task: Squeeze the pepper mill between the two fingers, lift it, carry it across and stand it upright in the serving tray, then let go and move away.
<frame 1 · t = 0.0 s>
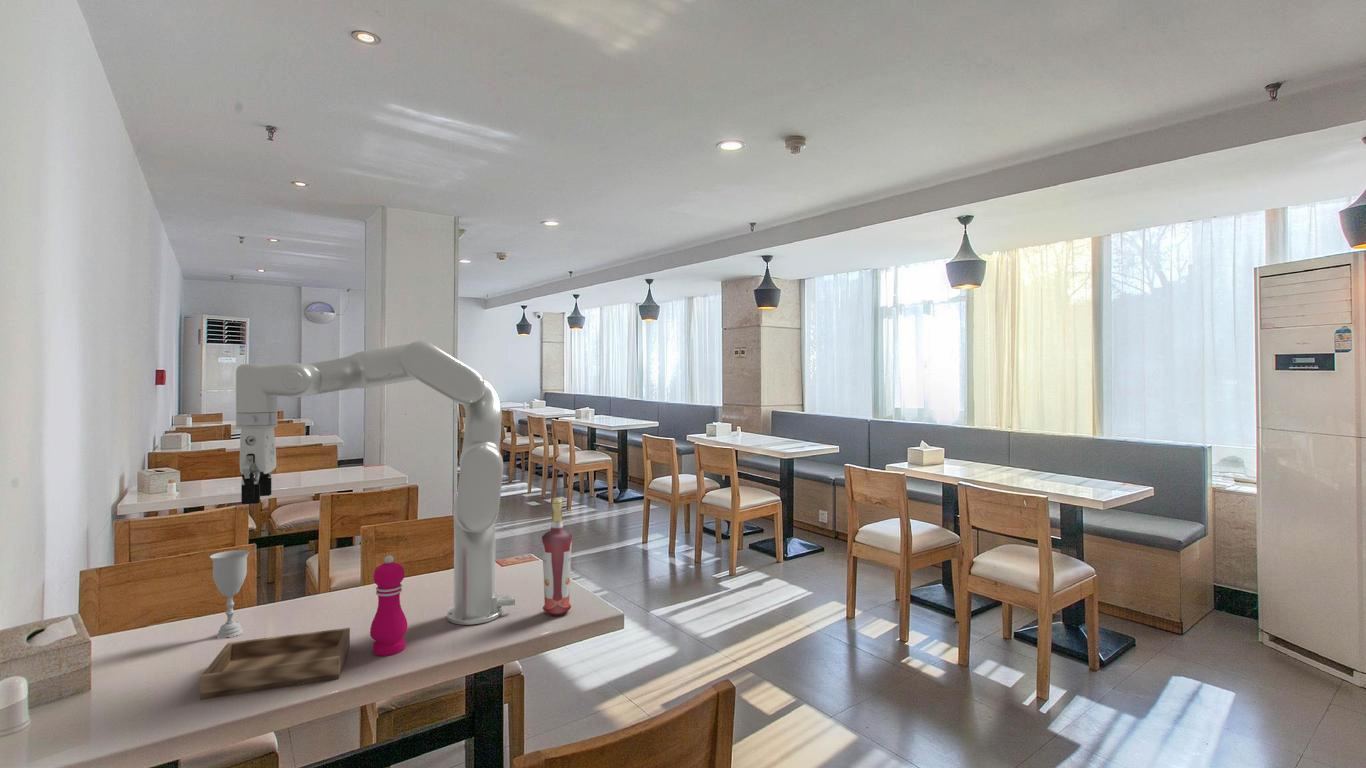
hand: (257, 499, 138), 31 cm above the table, tool pointing down, fingers open, 9 cm apart
chalice: (230, 634, 143), on the table
serving tray: (281, 670, 125), on the table
liquor: (556, 613, 156), on the table
pepper mill: (389, 650, 134), on the table
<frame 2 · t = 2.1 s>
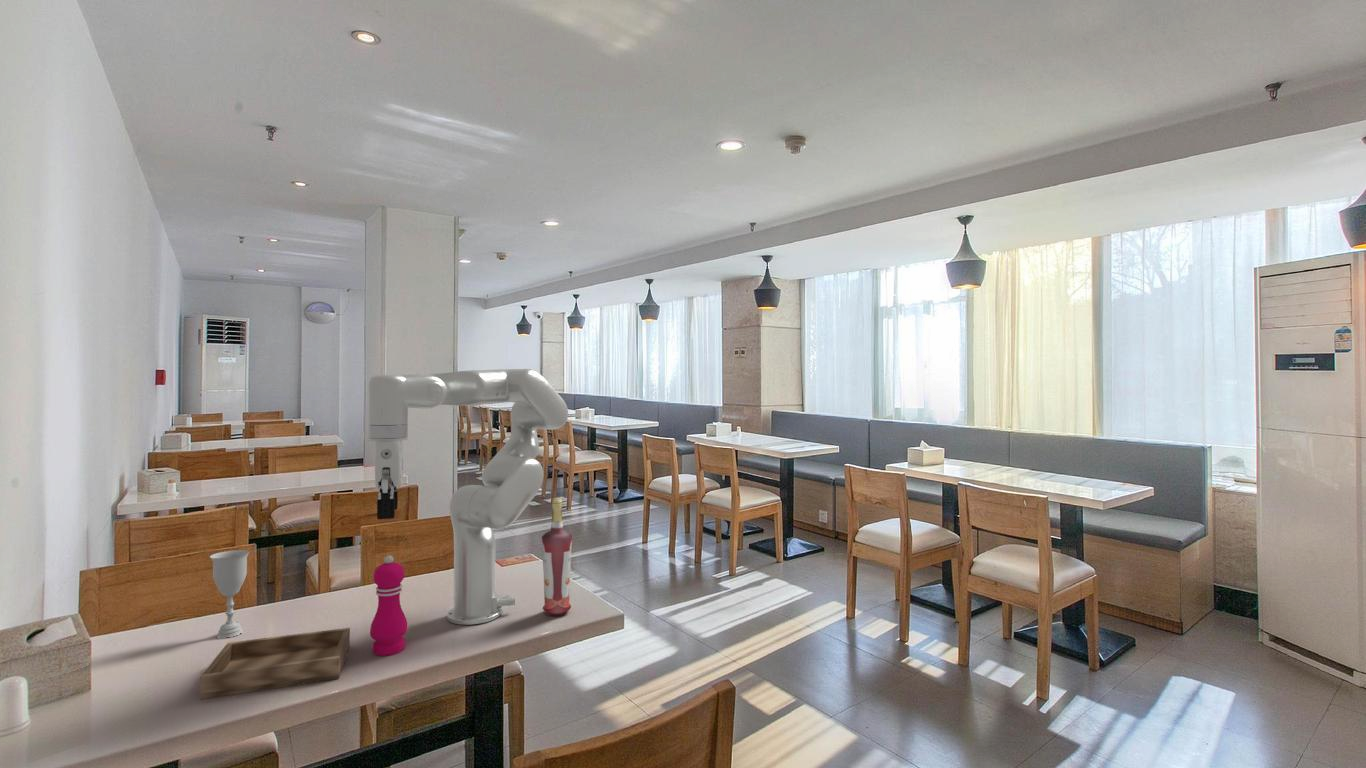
hand: (387, 514, 134), 29 cm above the table, tool pointing down, fingers open, 9 cm apart
nothing on the table moved.
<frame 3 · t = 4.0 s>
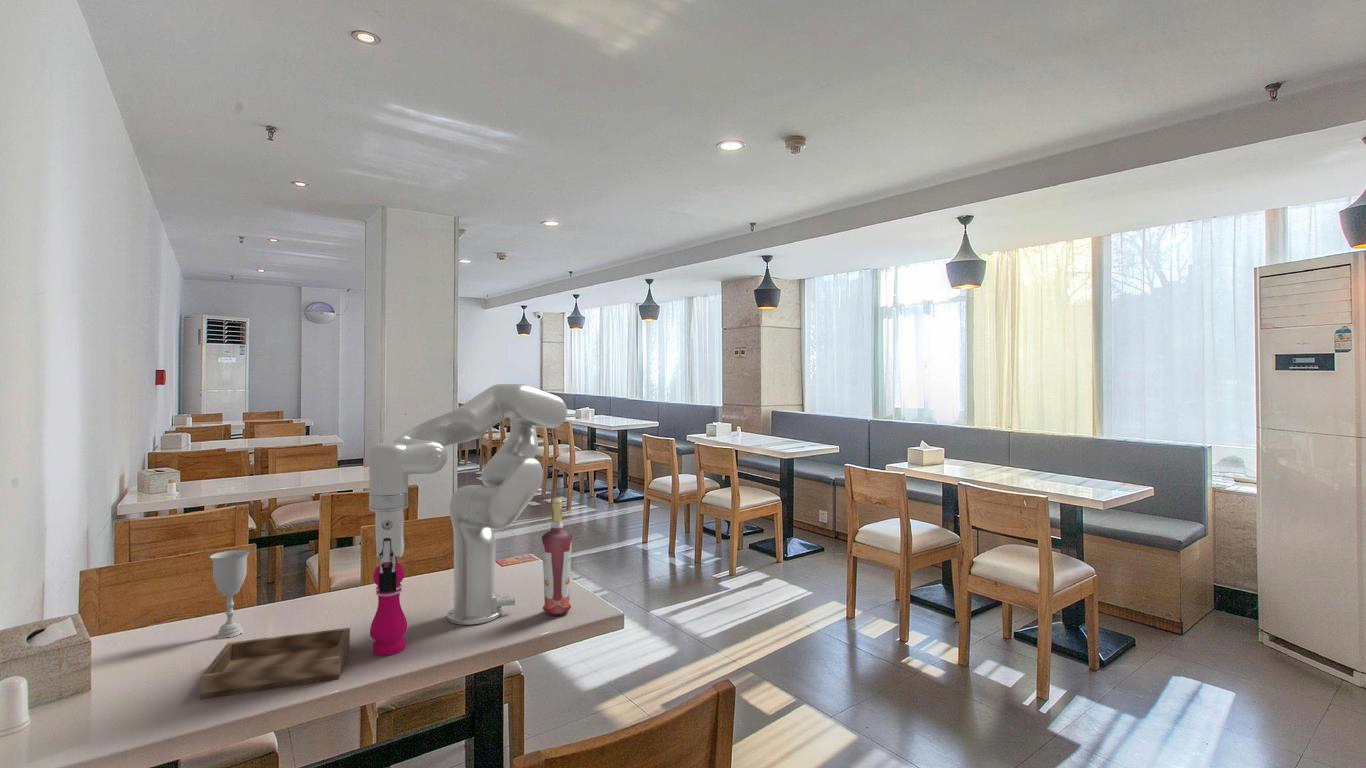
hand: (388, 585, 134), 14 cm above the table, tool pointing down, fingers closed on pepper mill, 5 cm apart
pepper mill: (388, 650, 134), on the table, touching gripper
everything else where it was.
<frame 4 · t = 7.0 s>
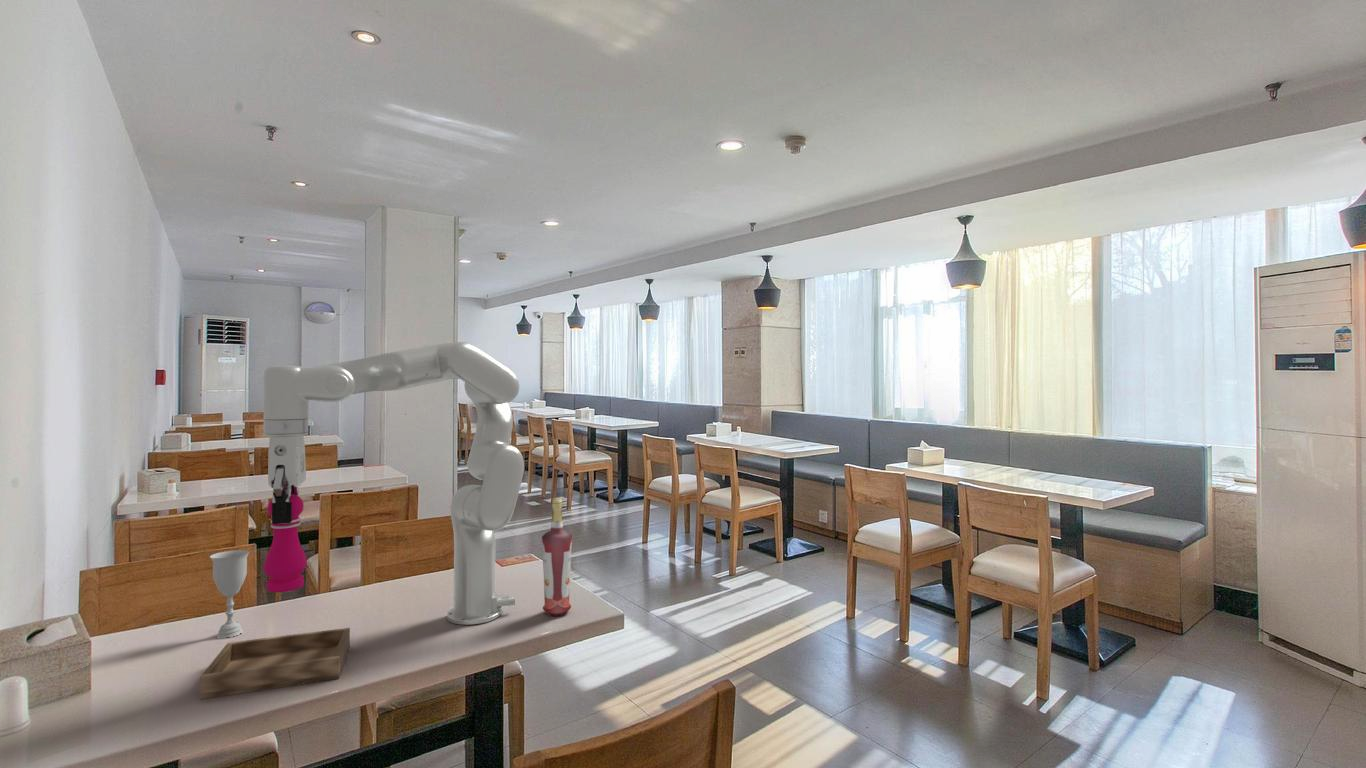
hand: (285, 518, 125), 30 cm above the table, tool pointing down, fingers closed on pepper mill, 5 cm apart
pepper mill: (285, 588, 125), point 16 cm above the table, touching gripper
everything else where it was.
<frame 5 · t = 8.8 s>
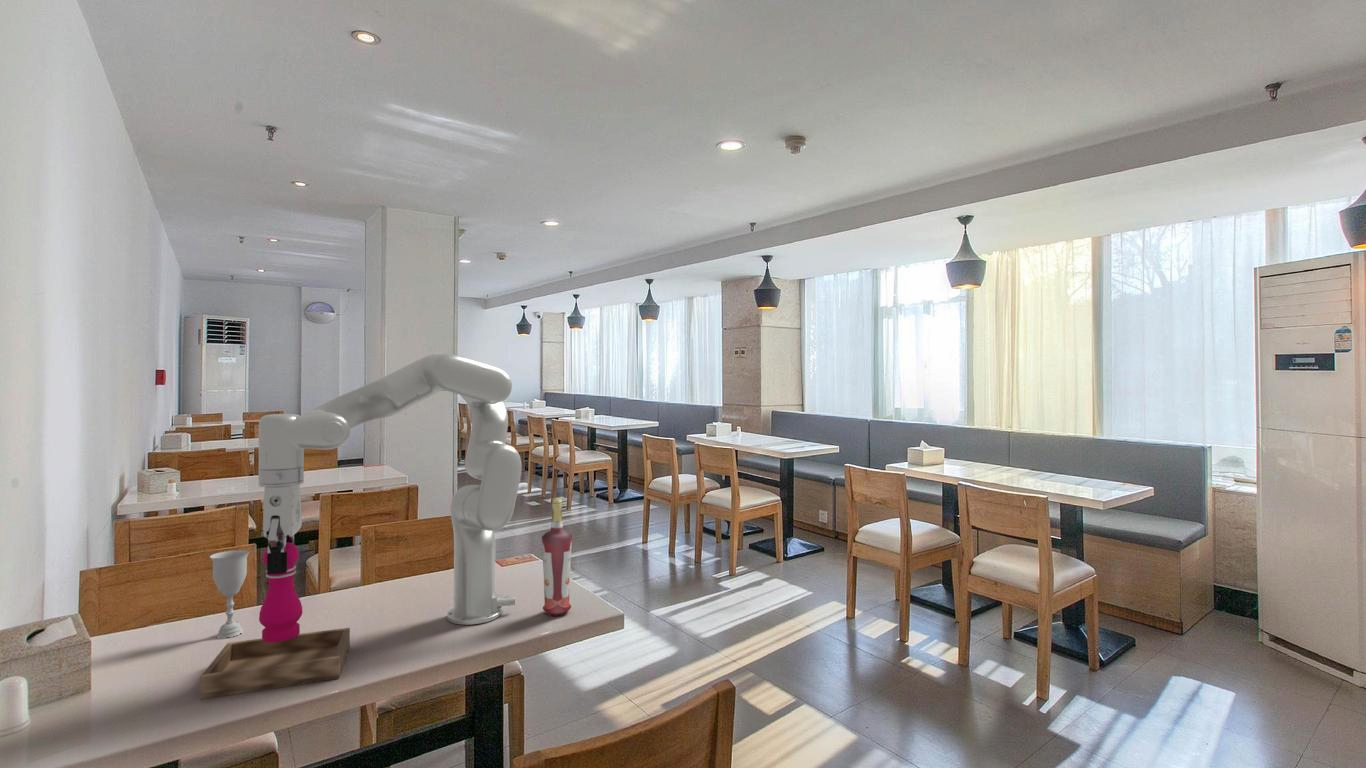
hand: (281, 567, 125), 20 cm above the table, tool pointing down, fingers closed on pepper mill, 5 cm apart
pepper mill: (281, 637, 125), point 7 cm above the table, touching gripper
everything else where it was.
when the fingers open (16 cm above the table, at t = 10.1 s): pepper mill drops 1 cm, resting on serving tray.
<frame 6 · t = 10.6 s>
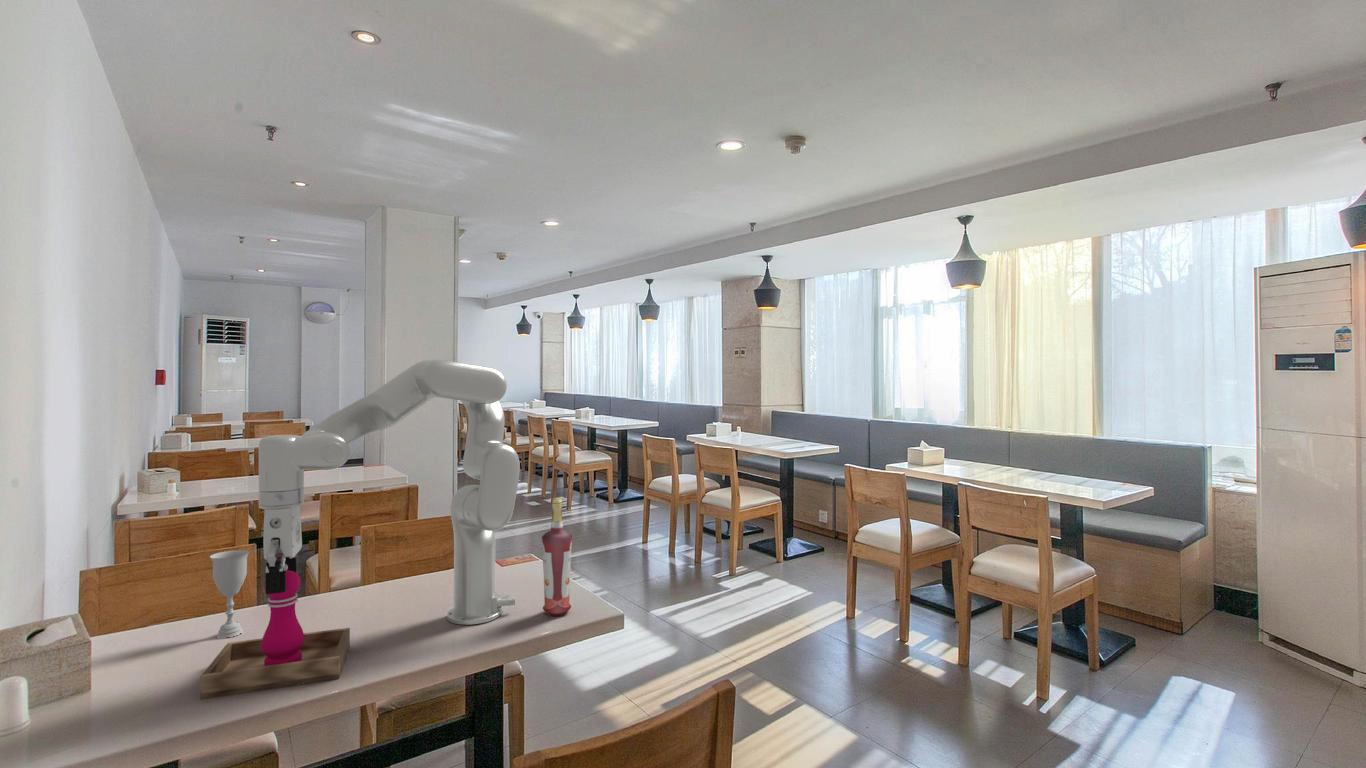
hand: (281, 585, 125), 17 cm above the table, tool pointing down, fingers open, 9 cm apart
pepper mill: (283, 665, 125), point 1 cm above the table, touching serving tray
everything else where it was.
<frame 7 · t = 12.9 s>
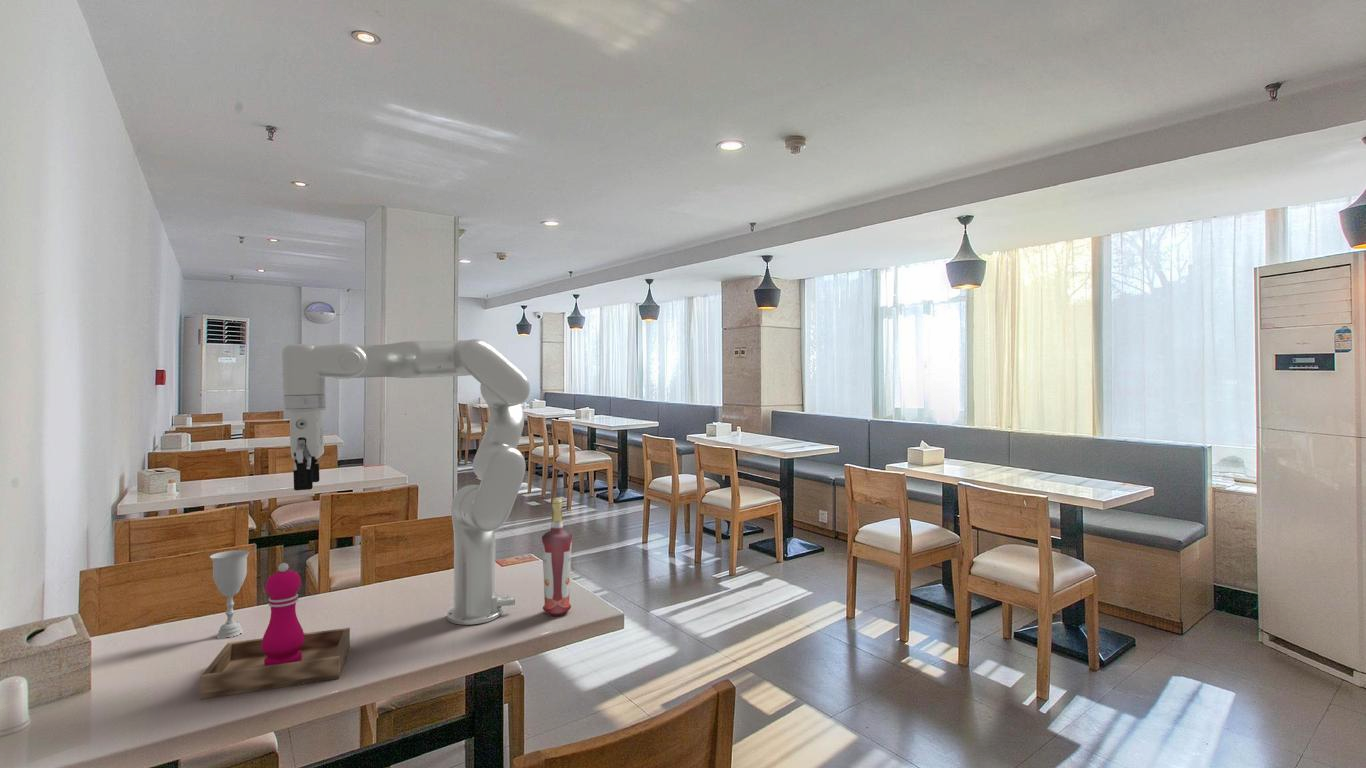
hand: (307, 485, 132), 35 cm above the table, tool pointing down, fingers open, 9 cm apart
nothing on the table moved.
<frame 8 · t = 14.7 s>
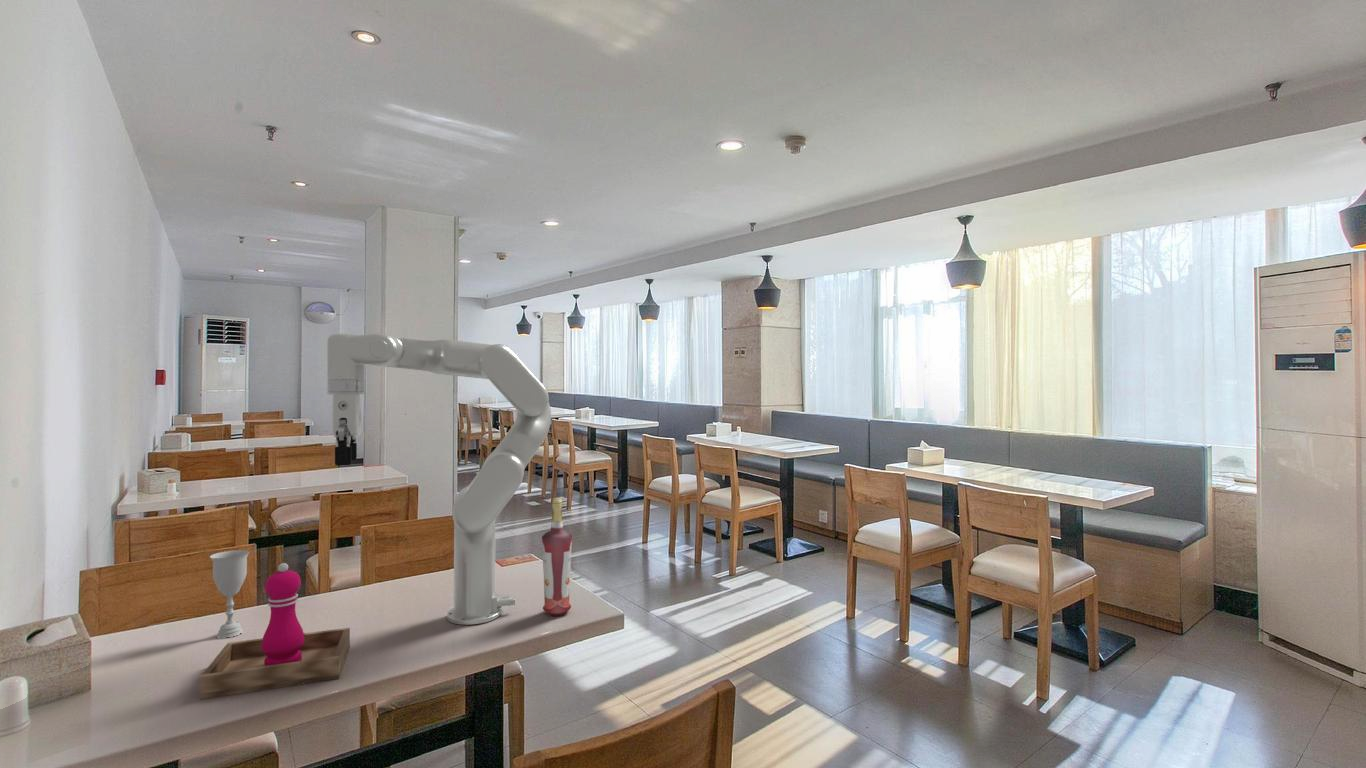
hand: (346, 462, 146), 38 cm above the table, tool pointing down, fingers open, 9 cm apart
nothing on the table moved.
at the end: pepper mill inside the target area on the serving tray (0.3 cm from its centre), point 0.8 cm above the serving tray's base; pepper mill tilted 0°; the gripper is holding nothing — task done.
